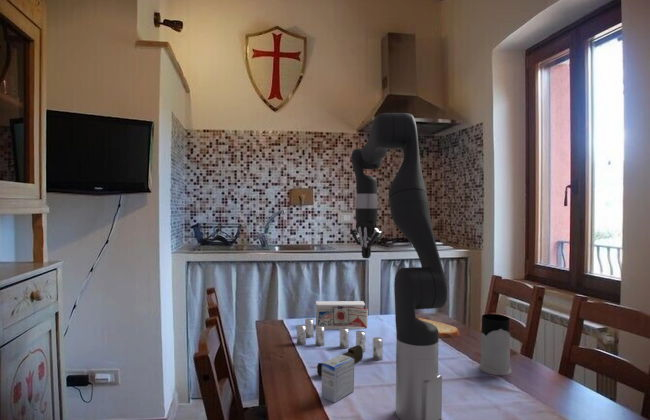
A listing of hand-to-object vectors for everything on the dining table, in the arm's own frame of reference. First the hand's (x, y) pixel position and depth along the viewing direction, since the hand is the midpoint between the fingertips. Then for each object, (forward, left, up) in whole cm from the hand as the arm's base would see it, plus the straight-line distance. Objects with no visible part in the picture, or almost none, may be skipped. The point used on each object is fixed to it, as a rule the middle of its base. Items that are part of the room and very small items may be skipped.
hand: (366, 258), depth 140 cm
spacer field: (+3, +12, -29) cm, 32 cm away
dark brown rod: (-9, +21, -30) cm, 37 cm away
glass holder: (-38, -13, -29) cm, 50 cm away
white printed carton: (+19, -7, -29) cm, 36 cm away
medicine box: (-21, +34, -29) cm, 50 cm away
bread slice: (-7, -29, -30) cm, 42 cm away
